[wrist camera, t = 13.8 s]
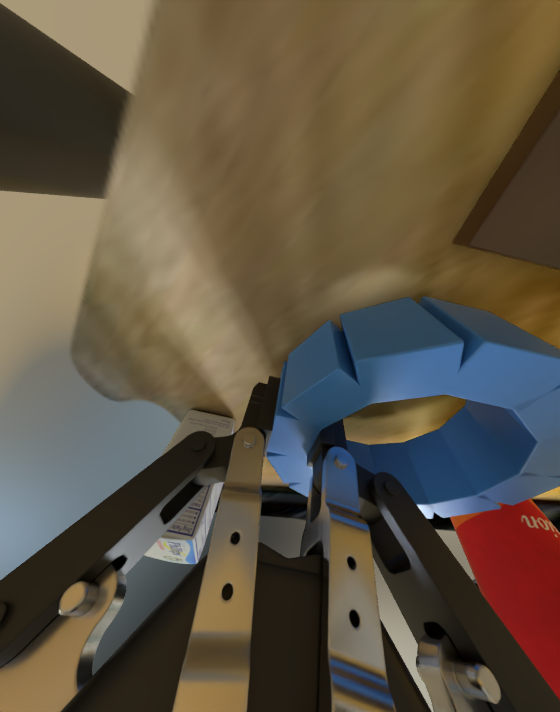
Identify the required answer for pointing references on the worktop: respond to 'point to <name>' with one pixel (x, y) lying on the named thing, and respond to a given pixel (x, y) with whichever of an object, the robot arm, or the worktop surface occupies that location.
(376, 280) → the worktop surface
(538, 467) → the blue notched ring
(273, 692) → the robot arm
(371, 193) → the worktop surface
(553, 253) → the brown peg stand
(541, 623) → the paper cup
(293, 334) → the worktop surface
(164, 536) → the medicine box
